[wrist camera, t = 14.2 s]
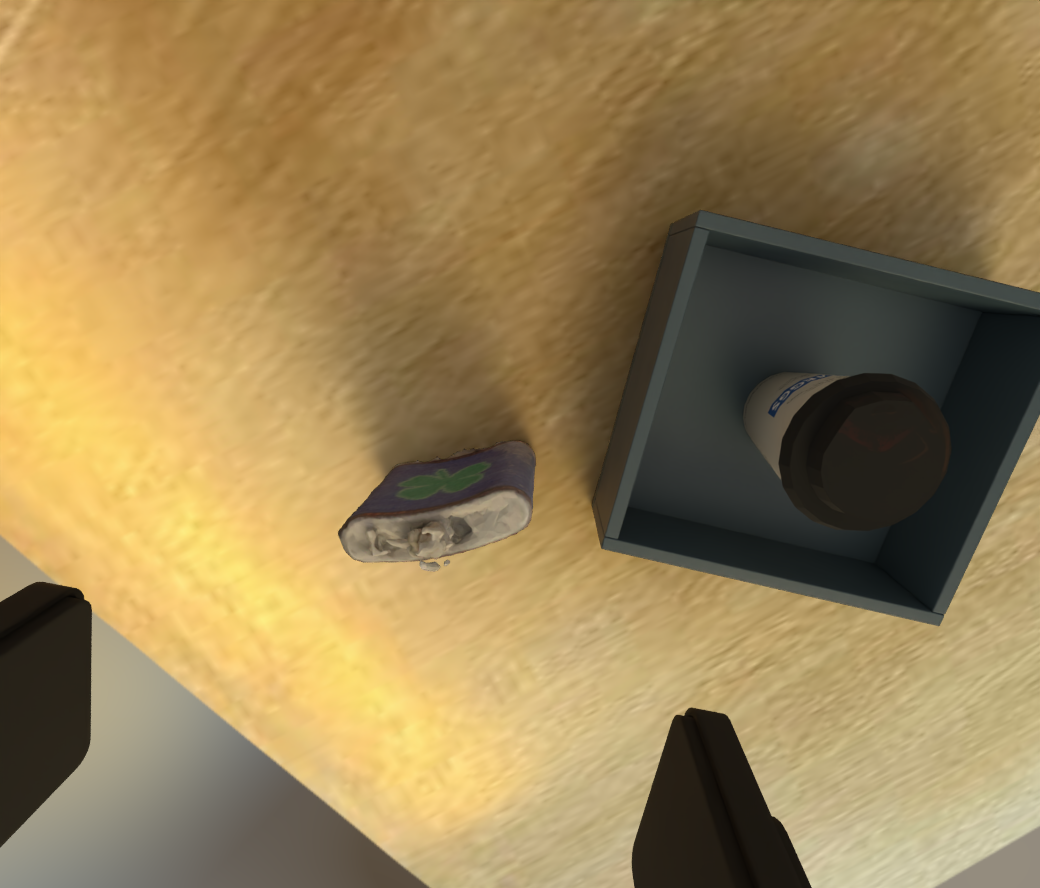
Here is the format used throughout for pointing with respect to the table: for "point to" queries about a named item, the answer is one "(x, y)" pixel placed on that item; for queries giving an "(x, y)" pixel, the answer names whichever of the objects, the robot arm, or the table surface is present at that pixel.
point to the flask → (444, 506)
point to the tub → (815, 350)
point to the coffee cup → (850, 445)
